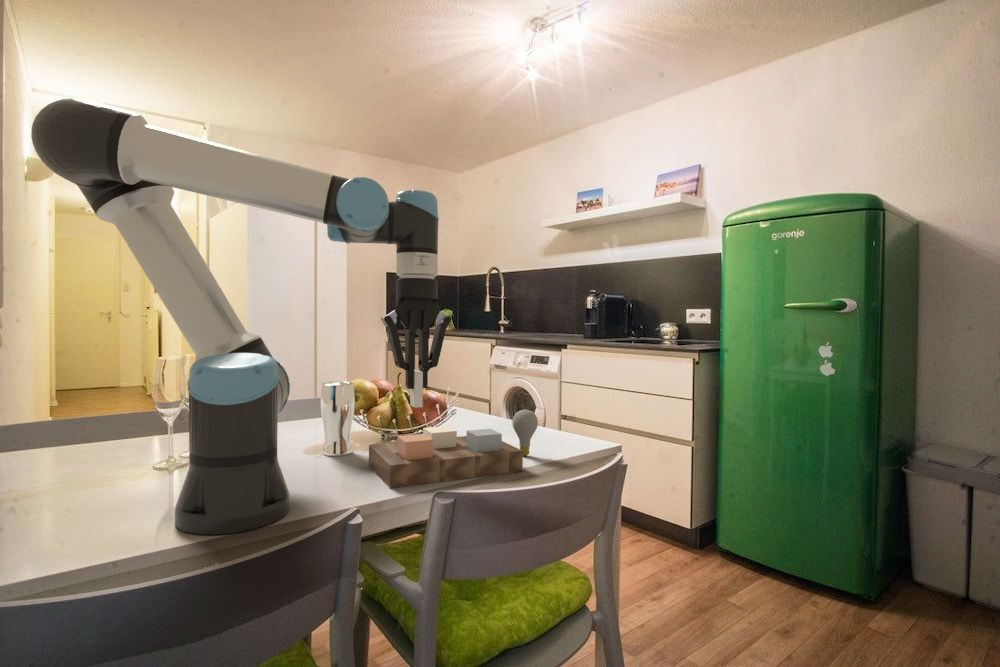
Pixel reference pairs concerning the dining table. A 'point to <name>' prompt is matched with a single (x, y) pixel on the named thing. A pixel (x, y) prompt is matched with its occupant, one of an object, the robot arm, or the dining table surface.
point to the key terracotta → (414, 447)
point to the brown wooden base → (442, 464)
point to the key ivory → (441, 436)
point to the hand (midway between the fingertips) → (416, 406)
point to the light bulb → (525, 428)
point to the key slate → (484, 440)
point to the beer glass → (337, 417)
